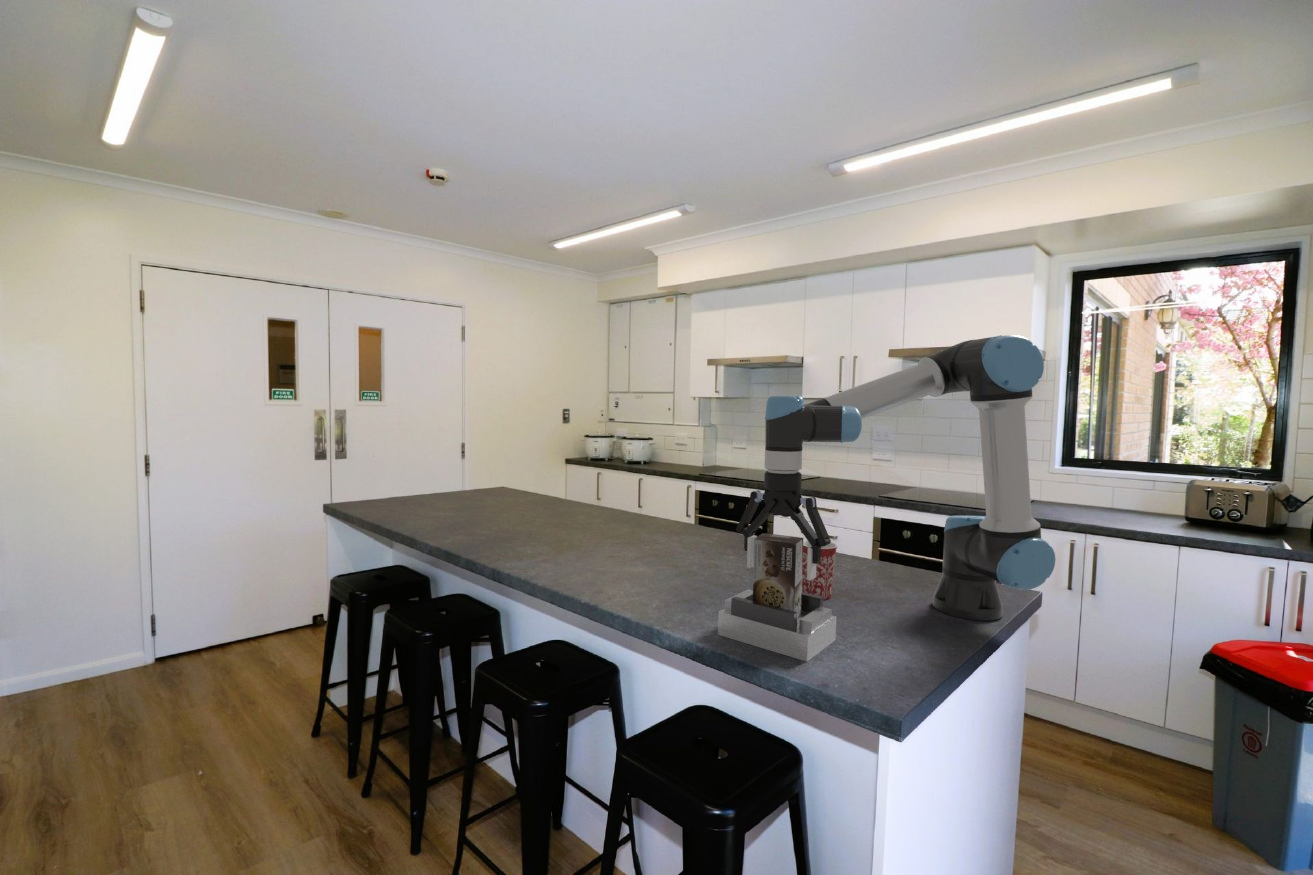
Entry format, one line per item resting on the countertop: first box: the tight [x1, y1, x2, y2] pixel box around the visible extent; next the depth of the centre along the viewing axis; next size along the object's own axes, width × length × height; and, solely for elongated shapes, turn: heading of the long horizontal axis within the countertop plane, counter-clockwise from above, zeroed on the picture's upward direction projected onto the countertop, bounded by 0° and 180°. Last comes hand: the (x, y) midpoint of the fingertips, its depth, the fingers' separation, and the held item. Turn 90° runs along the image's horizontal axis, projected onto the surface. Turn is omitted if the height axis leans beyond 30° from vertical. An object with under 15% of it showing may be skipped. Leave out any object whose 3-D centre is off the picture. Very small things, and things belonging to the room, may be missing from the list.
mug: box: [802, 539, 838, 601], centre depth 157 cm, size 13×9×14 cm
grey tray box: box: [717, 588, 837, 663], centre depth 128 cm, size 20×14×8 cm
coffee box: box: [752, 532, 805, 618], centre depth 127 cm, size 9×6×16 cm
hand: (780, 572), depth 127 cm, fingers open, 13 cm apart
